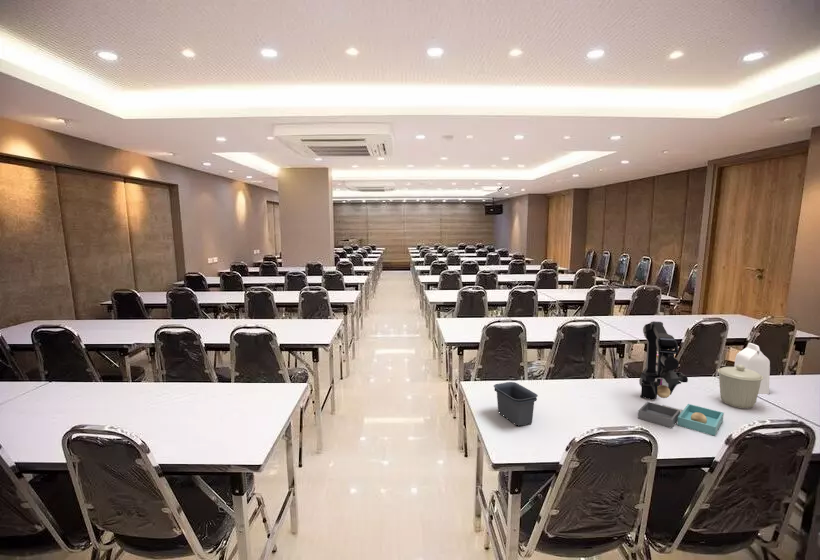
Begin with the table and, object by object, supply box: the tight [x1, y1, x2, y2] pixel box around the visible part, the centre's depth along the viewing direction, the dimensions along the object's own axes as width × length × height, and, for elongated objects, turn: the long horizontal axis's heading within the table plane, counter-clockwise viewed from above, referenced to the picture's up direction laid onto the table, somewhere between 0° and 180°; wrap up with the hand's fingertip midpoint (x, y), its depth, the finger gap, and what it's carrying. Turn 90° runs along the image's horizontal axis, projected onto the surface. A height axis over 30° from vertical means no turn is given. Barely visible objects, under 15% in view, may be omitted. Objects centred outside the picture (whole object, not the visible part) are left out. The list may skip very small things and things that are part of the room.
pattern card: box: [661, 404, 684, 414], centre depth 199 cm, size 9×6×1 cm, turn 44°
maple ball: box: [657, 385, 671, 399], centre depth 189 cm, size 6×6×6 cm
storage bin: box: [493, 381, 539, 427], centre depth 193 cm, size 21×16×14 cm
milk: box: [733, 342, 771, 395], centre depth 222 cm, size 12×12×26 cm
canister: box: [717, 364, 763, 409], centre depth 204 cm, size 18×18×21 cm
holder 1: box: [637, 401, 680, 429], centre depth 191 cm, size 14×14×4 cm
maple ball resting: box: [691, 412, 707, 424], centre depth 182 cm, size 6×6×6 cm
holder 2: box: [676, 403, 725, 437], centre depth 186 cm, size 14×20×4 cm
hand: (662, 394), depth 190 cm, fingers closed on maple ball, 6 cm apart
